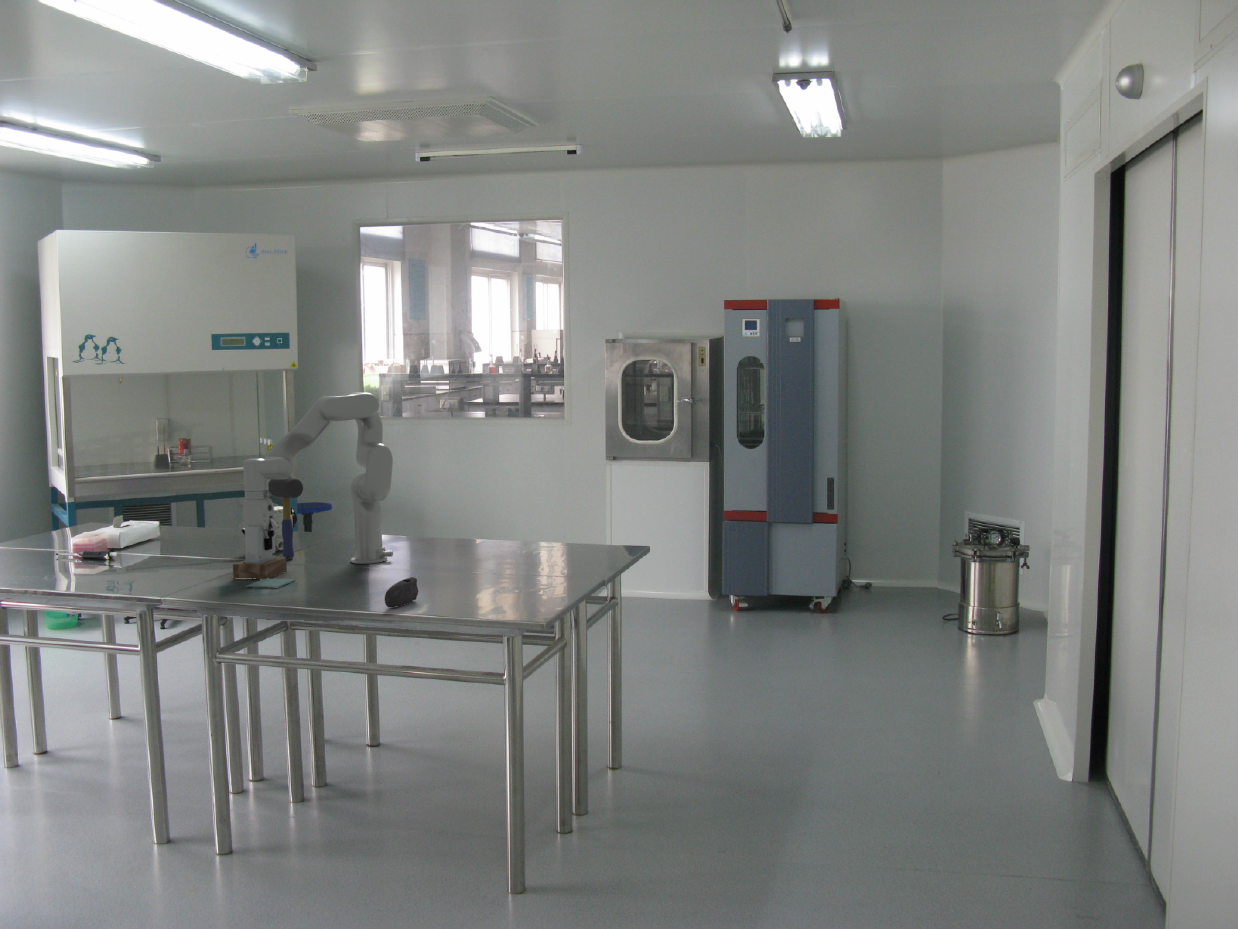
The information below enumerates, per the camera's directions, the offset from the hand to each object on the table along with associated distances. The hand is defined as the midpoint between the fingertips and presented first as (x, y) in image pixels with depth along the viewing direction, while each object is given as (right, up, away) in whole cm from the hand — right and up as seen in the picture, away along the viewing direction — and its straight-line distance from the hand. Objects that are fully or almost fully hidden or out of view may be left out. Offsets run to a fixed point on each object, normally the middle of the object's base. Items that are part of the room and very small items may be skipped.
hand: (259, 548), depth 331 cm
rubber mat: (+9, -10, -14) cm, 19 cm away
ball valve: (-12, -5, +48) cm, 50 cm away
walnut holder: (0, -9, +1) cm, 9 cm away
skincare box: (0, -7, +1) cm, 7 cm away
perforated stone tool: (+57, -13, -45) cm, 73 cm away
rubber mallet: (0, -7, +29) cm, 30 cm away
